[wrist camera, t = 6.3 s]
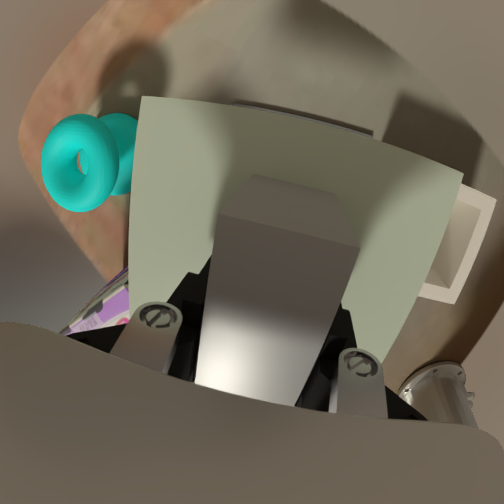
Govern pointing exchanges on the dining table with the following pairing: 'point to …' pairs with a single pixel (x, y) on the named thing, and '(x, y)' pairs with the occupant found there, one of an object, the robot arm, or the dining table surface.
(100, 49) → the dining table surface
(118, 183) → the donuts
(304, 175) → the lid
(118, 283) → the candy box
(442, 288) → the storage box
